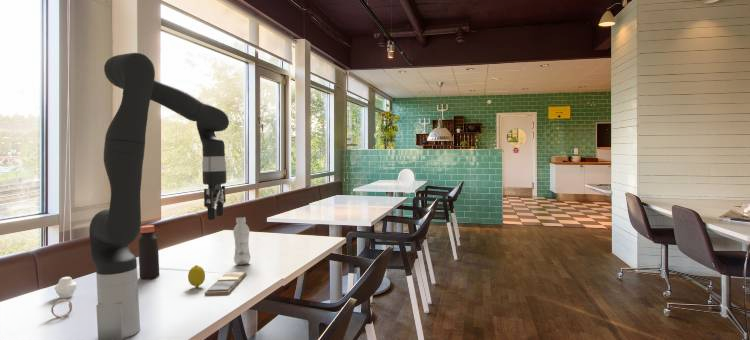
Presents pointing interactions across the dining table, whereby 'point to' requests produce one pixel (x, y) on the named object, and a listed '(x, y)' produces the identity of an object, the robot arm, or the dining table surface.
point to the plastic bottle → (241, 242)
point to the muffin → (65, 287)
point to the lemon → (196, 276)
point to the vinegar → (148, 253)
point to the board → (226, 283)
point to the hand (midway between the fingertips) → (216, 217)
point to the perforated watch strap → (66, 313)
